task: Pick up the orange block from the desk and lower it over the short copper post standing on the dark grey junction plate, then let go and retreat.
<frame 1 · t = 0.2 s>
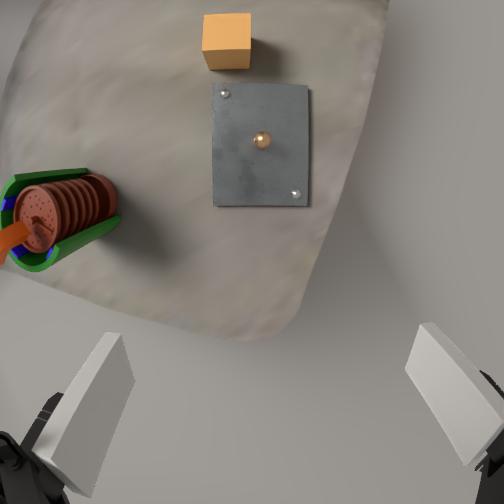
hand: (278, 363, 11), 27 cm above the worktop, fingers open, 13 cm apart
orange block: (229, 52, 30), on the worktop
junction plate: (260, 143, 34), on the worktop
motor: (93, 203, 36), on the worktop
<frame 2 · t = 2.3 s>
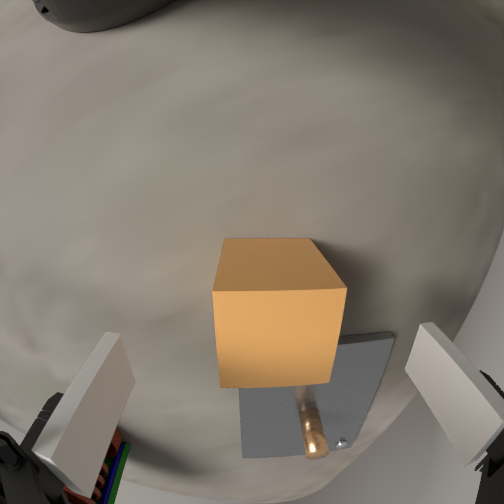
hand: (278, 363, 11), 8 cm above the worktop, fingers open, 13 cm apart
orange block: (266, 277, 18), on the worktop
junction plate: (307, 406, 22), on the worktop
motor: (91, 426, 24), on the worktop
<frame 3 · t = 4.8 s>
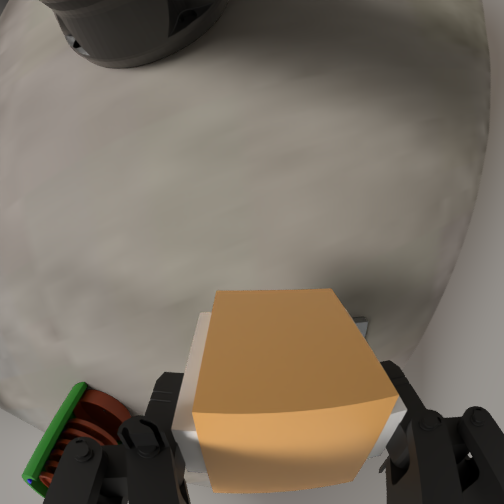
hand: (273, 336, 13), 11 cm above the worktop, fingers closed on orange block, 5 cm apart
orange block: (273, 338, 13), point 10 cm above the worktop, touching gripper
motor: (104, 411, 28), on the worktop
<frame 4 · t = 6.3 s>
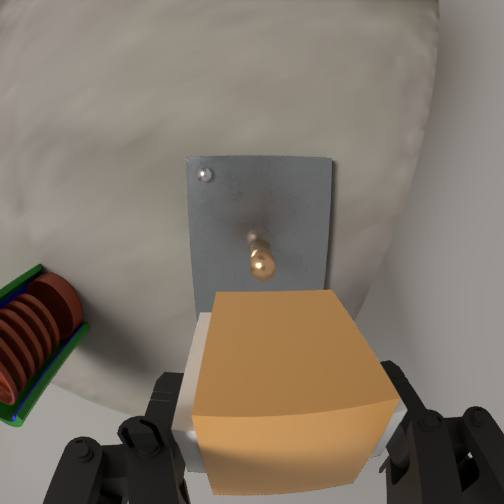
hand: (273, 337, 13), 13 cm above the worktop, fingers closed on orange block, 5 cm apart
orange block: (273, 339, 13), point 13 cm above the worktop, touching gripper
junction plate: (259, 246, 25), on the worktop
motor: (56, 305, 27), on the worktop
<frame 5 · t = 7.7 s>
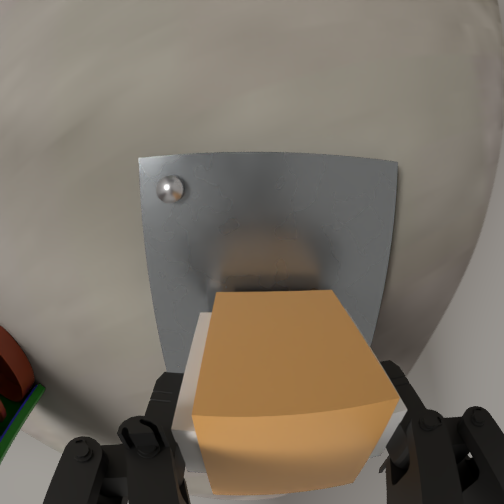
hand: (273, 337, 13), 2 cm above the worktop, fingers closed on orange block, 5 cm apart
orange block: (273, 339, 13), point 2 cm above the worktop, touching gripper
junction plate: (269, 309, 15), on the worktop
motor: (6, 357, 17), on the worktop
when the fingers open (1 cm above the worktop, at t = 8.2 s): orange block stays where it is, resting on junction plate.
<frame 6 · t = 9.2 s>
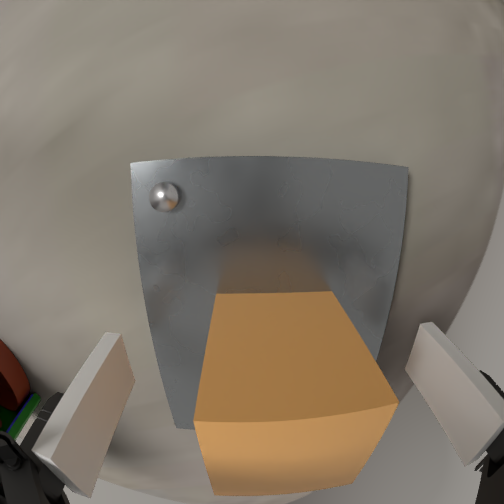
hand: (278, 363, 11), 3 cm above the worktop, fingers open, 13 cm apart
orange block: (273, 340, 13), point 1 cm above the worktop, touching junction plate
junction plate: (271, 322, 14), on the worktop
motor: (1, 365, 16), on the worktop
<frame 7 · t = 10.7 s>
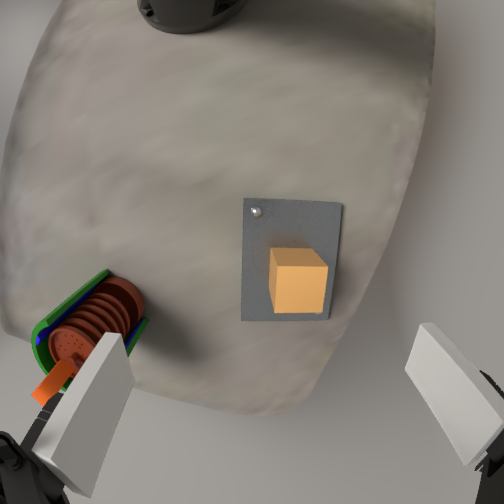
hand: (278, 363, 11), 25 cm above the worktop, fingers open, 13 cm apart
orange block: (290, 268, 35), point 1 cm above the worktop, touching junction plate
junction plate: (289, 262, 36), on the worktop
motor: (118, 303, 37), on the worktop
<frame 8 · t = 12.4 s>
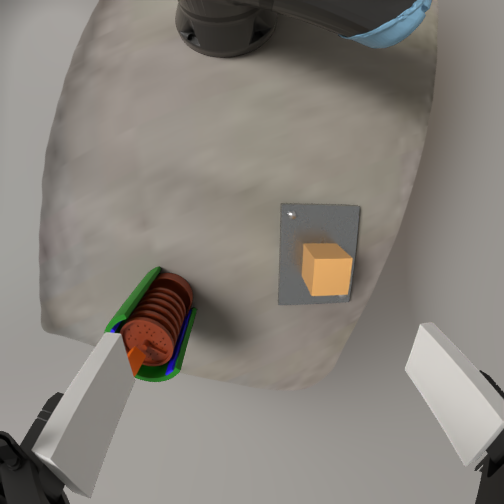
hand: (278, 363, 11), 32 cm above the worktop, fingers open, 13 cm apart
orange block: (319, 259, 42), point 1 cm above the worktop, touching junction plate
junction plate: (317, 255, 43), on the worktop
motor: (168, 296, 45), on the worktop
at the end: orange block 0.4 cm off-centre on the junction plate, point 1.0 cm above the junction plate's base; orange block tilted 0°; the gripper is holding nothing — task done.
